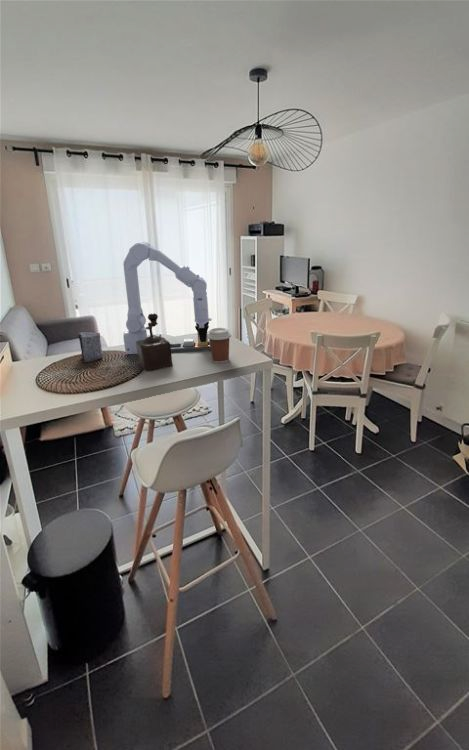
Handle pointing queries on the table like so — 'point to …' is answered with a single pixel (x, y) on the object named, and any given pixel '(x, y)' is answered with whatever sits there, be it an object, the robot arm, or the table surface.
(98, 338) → the stone
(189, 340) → the zinc nut
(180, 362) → the table surface
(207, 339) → the yellow block
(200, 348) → the rail
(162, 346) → the manual coffee grinder
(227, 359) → the coffee cup
